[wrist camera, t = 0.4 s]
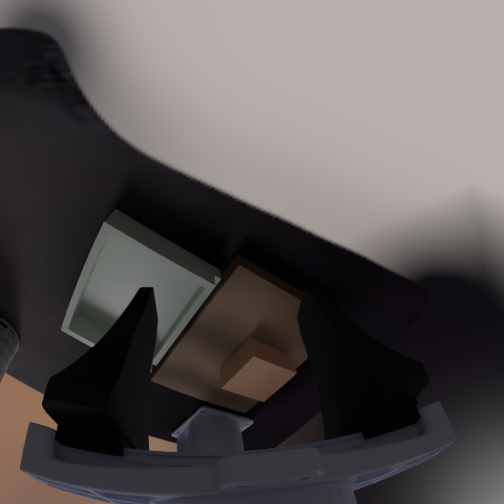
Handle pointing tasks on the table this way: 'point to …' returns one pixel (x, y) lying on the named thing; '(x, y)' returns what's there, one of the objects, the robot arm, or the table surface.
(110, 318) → the box
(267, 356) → the block
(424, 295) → the table surface
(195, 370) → the board
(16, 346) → the energy drink
